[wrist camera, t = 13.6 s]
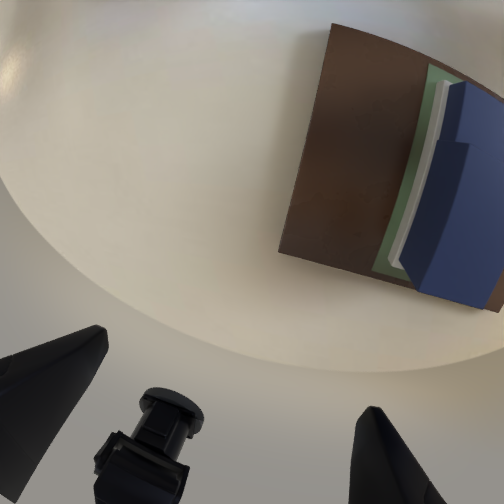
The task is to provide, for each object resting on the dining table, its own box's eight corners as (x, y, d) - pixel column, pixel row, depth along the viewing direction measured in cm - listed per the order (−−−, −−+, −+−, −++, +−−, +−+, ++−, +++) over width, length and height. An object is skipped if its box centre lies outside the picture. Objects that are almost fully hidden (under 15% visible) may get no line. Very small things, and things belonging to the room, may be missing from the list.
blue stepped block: (450, 277, 16) (481, 318, 11) (386, 258, 16) (408, 300, 12) (500, 117, 11) (547, 120, 7) (436, 82, 12) (477, 68, 7)
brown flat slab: (492, 305, 17) (499, 314, 16) (279, 244, 19) (277, 253, 17) (548, 140, 11) (558, 142, 10) (330, 29, 13) (331, 21, 12)
